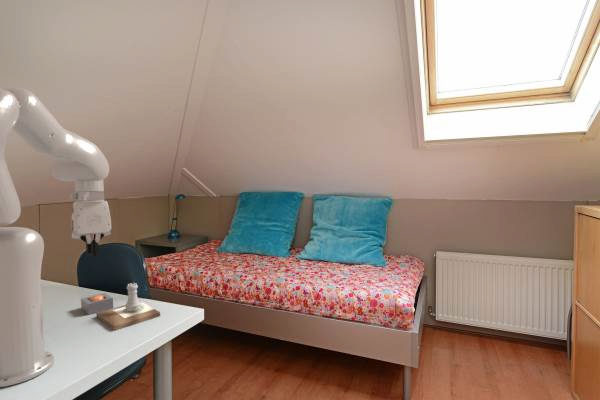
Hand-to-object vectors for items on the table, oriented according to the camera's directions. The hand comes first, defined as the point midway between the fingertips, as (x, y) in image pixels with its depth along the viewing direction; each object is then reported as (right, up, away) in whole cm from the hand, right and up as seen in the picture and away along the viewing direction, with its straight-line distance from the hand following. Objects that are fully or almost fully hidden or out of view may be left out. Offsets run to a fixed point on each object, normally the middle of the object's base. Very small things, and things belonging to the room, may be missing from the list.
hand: (92, 255), depth 108 cm
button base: (0, -18, +2) cm, 18 cm away
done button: (0, -16, +2) cm, 16 cm away
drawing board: (+14, -18, -5) cm, 23 cm away
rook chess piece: (+14, -17, -3) cm, 22 cm away
